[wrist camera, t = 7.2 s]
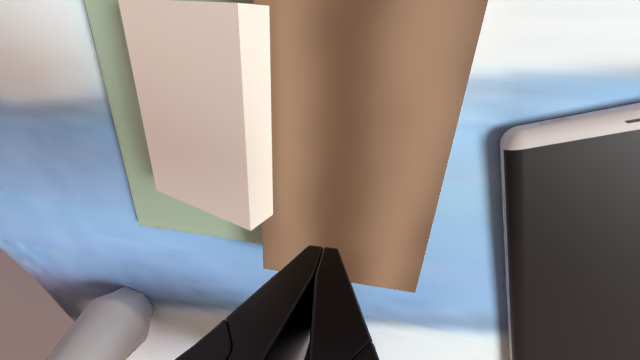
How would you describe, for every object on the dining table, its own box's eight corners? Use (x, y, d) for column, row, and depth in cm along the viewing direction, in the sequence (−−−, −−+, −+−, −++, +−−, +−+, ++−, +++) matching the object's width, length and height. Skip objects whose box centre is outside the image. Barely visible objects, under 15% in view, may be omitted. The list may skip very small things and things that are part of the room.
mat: (292, -96, 15) (289, -100, 15) (289, 243, 24) (287, 247, 24) (67, -99, 17) (59, -102, 16) (143, 221, 26) (139, 225, 25)
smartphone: (508, 407, 29) (515, 428, 28) (494, 126, 19) (504, 135, 17) (692, 409, 26) (711, 434, 24) (803, 66, 15) (851, 71, 14)
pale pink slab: (272, 214, 19) (250, 230, 18) (182, 179, 23) (156, 190, 21) (269, 5, 14) (237, 2, 13) (153, 1, 18) (117, -2, 16)
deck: (491, -94, 14) (517, -120, 11) (411, 261, 23) (415, 292, 20) (271, -96, 15) (249, -121, 13) (276, 241, 24) (263, 268, 22)
